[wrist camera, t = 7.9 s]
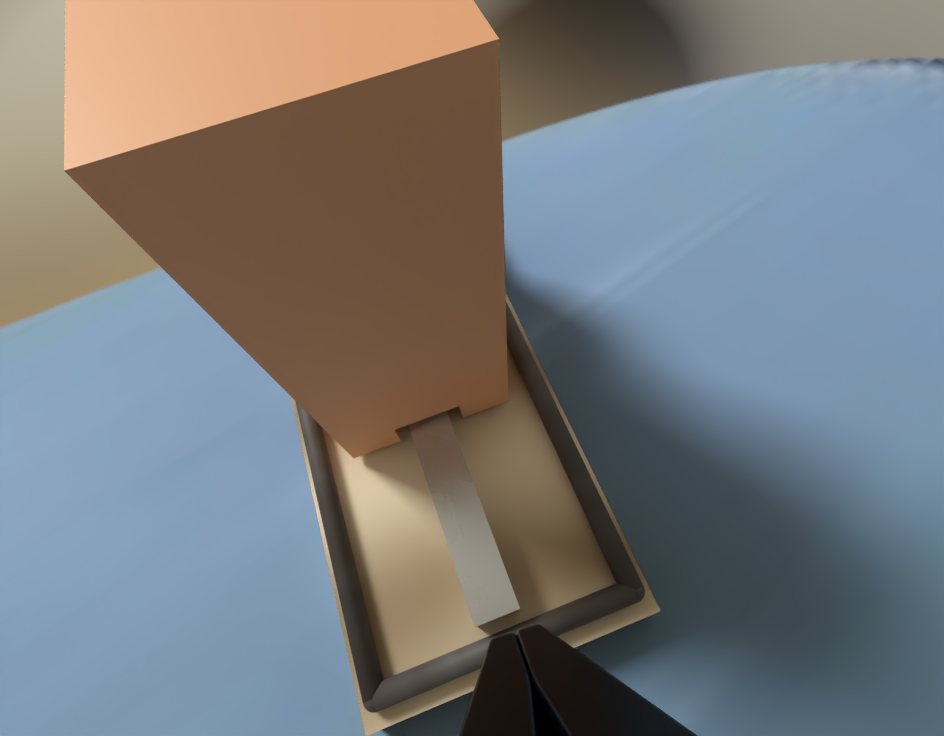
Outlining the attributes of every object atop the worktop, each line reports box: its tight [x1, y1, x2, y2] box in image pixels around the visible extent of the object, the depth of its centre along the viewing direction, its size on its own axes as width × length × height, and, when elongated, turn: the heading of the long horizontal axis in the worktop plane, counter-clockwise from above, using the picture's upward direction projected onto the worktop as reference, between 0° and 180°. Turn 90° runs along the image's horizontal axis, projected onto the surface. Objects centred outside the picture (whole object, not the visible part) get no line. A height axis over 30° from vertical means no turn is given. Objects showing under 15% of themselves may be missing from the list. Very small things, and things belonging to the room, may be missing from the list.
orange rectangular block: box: [64, 0, 508, 458], centre depth 12 cm, size 5×5×11 cm
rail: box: [408, 411, 520, 627], centre depth 15 cm, size 10×1×1 cm, turn 20°
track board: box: [291, 294, 661, 736], centre depth 17 cm, size 16×8×2 cm, turn 20°
